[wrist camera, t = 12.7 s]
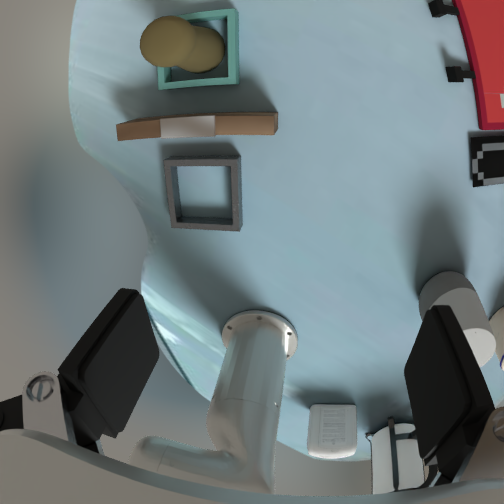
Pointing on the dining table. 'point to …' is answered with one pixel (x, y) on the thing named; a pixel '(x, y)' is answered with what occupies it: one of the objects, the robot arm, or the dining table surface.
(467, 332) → the smart speaker
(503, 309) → the teacup with lid
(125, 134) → the door edge
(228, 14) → the collar
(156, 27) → the cork
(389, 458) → the coffee press
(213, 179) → the dining table surface
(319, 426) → the photo printer
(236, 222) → the collar
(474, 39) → the red board with handle
